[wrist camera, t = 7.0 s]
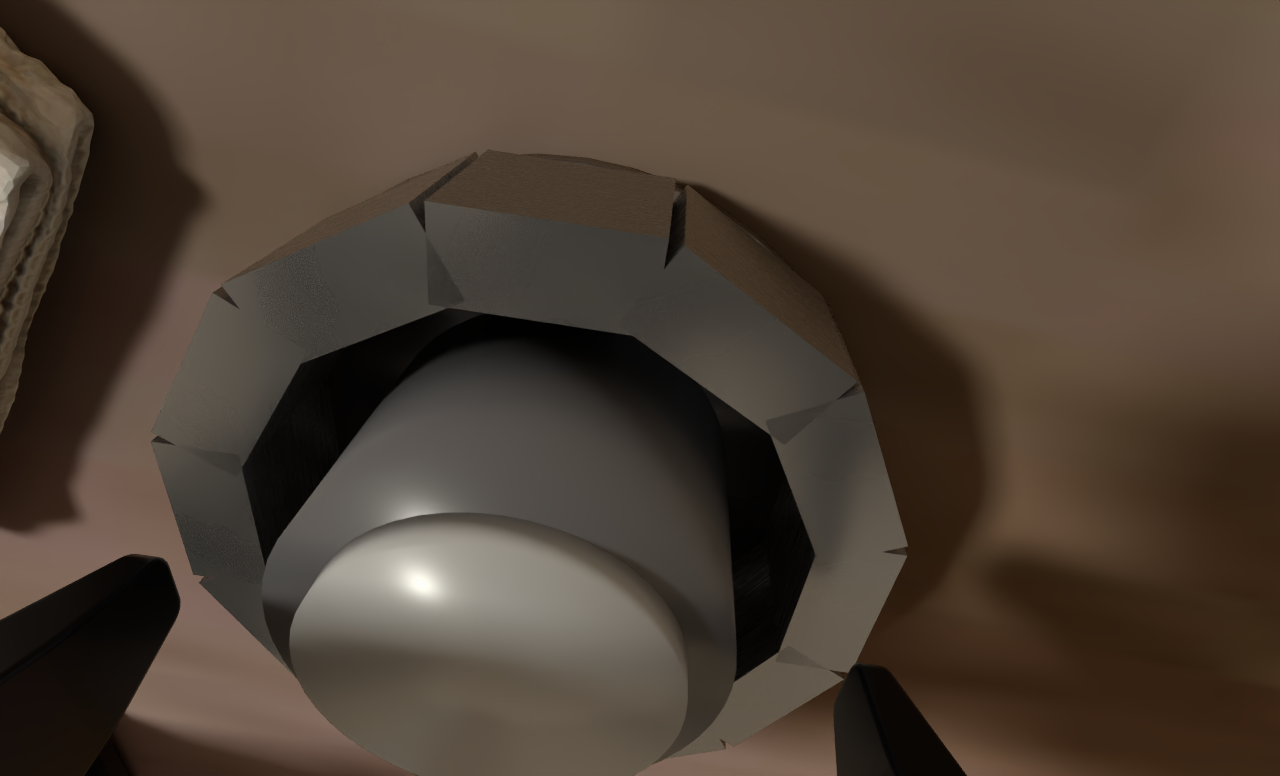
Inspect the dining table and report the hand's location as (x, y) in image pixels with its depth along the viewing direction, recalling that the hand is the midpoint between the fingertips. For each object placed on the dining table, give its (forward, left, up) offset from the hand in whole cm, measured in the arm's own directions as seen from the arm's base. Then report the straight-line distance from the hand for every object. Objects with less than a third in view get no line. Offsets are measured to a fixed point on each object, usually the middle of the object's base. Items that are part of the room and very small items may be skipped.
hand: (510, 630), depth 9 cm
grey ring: (0, 0, -4) cm, 4 cm away
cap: (0, 0, -4) cm, 4 cm away
